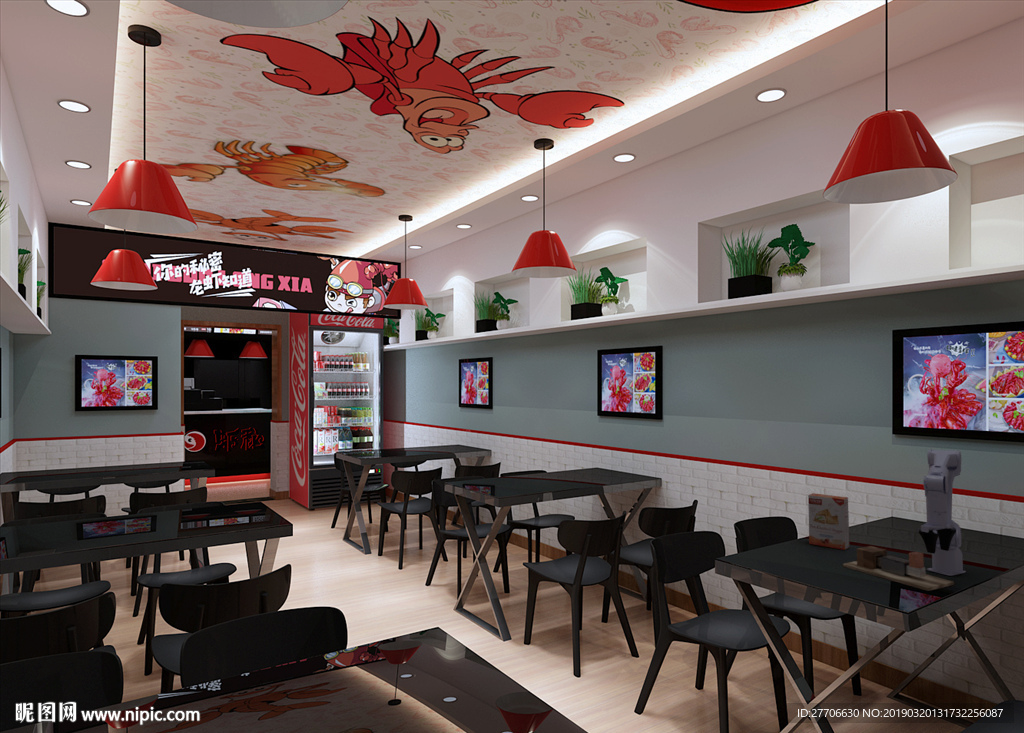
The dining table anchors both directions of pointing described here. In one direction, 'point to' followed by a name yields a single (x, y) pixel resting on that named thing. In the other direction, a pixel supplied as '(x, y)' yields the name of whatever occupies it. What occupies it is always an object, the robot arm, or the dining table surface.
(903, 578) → the board
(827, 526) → the cracker box
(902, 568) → the sleeve
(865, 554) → the socket block
